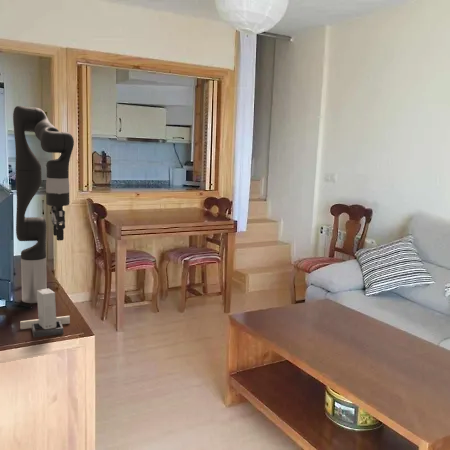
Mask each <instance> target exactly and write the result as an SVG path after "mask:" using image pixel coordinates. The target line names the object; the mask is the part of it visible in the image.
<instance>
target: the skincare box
mask: <svg viewBox="0 0 450 450" xmlns="http://www.w3.org/2000/svg"><path fill="white" fill-rule="evenodd" d="M37 302H38V303H37V316H38V320H39V325H40V326H41V327H42V328H44V329H43V330H46V329H54V328H57V327H56V317H57V310H56V309H57V308H56V307H57V306H56V305H57V304H56V292H55V291H53V290H52V289H50V288H47V289H42V290H37Z"/></svg>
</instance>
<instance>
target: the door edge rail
mask: <svg viewBox="0 0 450 450" xmlns="http://www.w3.org/2000/svg"><path fill="white" fill-rule="evenodd" d="M70 316H71V315H65V316H56V321H61V324H62V325H66V324H71V317H70ZM19 322H20V325H19V327H20V330H26V329H32V324H35V323H39V320H38V319H37V318H35V319H28V320H20V321H19Z"/></svg>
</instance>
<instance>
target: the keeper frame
mask: <svg viewBox="0 0 450 450" xmlns="http://www.w3.org/2000/svg"><path fill="white" fill-rule="evenodd" d="M31 331H32V336H33V338H41V337H48V336H56V335H62V334H64V327H63V324H61V321H56V327H55V328H51V329H44V328H42V327H41V326H40V325H39V323H35V324H32V328H31Z"/></svg>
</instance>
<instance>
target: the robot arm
mask: <svg viewBox="0 0 450 450" xmlns="http://www.w3.org/2000/svg"><path fill="white" fill-rule="evenodd" d="M12 120H13V121H12V122H13V135H14V145H15V147H14V148H15V189H16V217H15V218H16V222H15V233H16V239H17V240H18V241H19V242H36V243H35V244H33V246H29V247H27V248H24V249H23V250H22V251H20V266H21V267H20V268H21V269H20V272H21V275H20V276H21V278H20V279H21V302H23V303H27V304H38V302H37V290H42V289H47V285H48V283H47V280H48V279H47V245H46V244H47V222H46V219H45V217H42V216H41V217H40V216H37V217H34V216H33V217H32V216H30V217H29V216H28V217H26V212H27V210H28V208H29V205H30V204H31V201H32V199H34V196H36V194H37V192H38V191H39V189H40V187H41V186H42V183H43V182H42V166H41V163H40V161H39V160H38V158H37V156H36V155H35V153H34V152H33V151H32V149H31V147H30V146H29V144H28V141H27V137H26V132H29V133H30V132H31V133H34V135H35V137H36V138H37V139H38V140H39V141H40V147H41V150H43V151H44V152H46V153H51V154H54V153H55V154H56V153H57V154H60V155H59V157H58V158H55V159H51V160H48V161H47V162H46V181H45V198H46V200H45V202H46V203H45V204H46V205H47V206H50V207H51V210H50V211H51V224H52V226H53V227H52V229H53V231H52V233H53V236H54V237H55V236H56V240H57V241H64V239H65V238H64V234H65V232H64V230H65V229H66V217H65V216H66V211H65V210H64V208H63V207H64V206H66V207H67V206H69V205H70V179H69V167H70V161H71V157H72V154H73V153H72V152H73V149H74V146H75V145H74V144H75V141H74V140H75V139H74V137H73V135H72V133H70V132H67V131H59V129H58V128H57V127H56V126H55V125H53V123H51V122H50V119H49V117H48V115H47V114H46V113H45V111H44V110H42V108H39V107H35V106H34V107H33V106H26V105H25V106H23V105H16V106H15V107H14V109H13V113H12Z"/></svg>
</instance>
